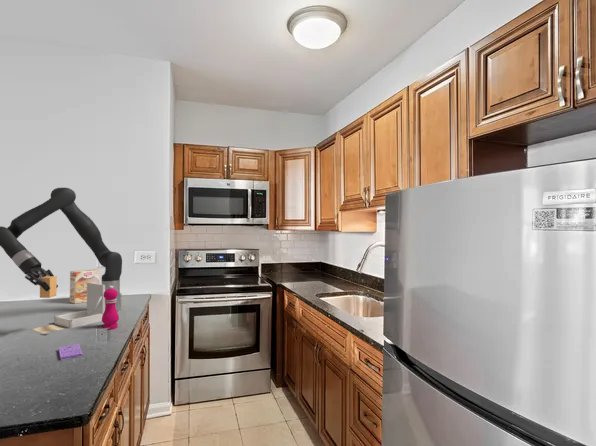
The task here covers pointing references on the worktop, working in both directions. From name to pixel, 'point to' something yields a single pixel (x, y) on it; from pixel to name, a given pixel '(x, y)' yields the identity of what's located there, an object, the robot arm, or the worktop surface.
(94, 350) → the worktop surface
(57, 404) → the worktop surface
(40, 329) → the board
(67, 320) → the equipment case
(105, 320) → the pepper mill
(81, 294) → the coffeecake box
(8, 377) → the worktop surface
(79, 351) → the sponges
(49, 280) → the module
